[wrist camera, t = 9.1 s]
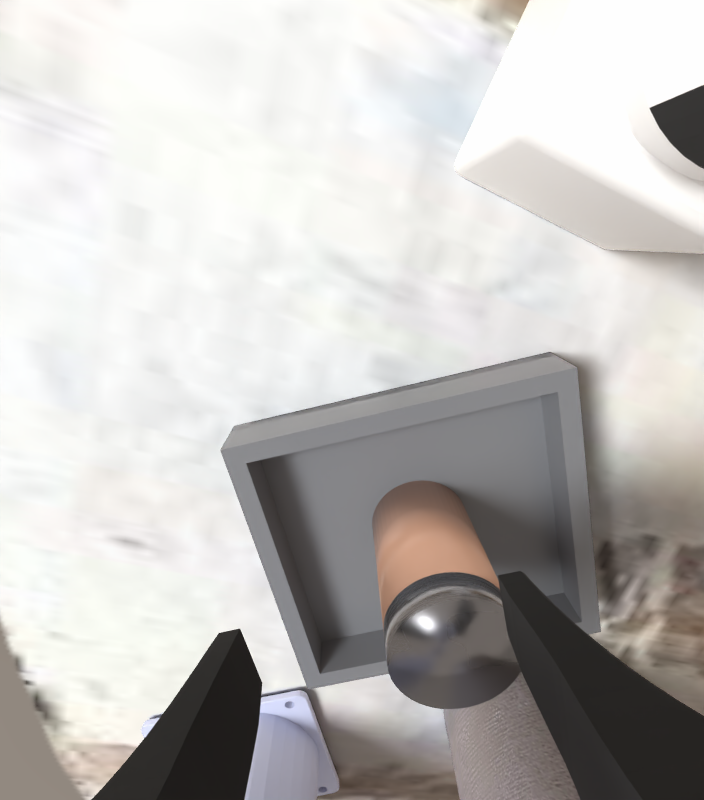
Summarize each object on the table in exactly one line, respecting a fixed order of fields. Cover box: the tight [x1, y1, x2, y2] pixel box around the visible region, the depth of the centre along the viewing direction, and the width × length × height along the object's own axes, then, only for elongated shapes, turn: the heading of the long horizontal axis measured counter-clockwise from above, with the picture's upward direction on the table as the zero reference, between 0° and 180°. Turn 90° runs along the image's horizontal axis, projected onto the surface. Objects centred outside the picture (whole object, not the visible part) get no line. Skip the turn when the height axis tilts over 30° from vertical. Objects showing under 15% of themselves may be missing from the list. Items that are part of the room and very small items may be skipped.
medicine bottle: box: [454, 0, 704, 254], centre depth 12 cm, size 7×7×12 cm
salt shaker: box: [372, 480, 521, 709], centre depth 18 cm, size 4×4×8 cm
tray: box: [221, 352, 601, 689], centre depth 21 cm, size 14×13×2 cm
